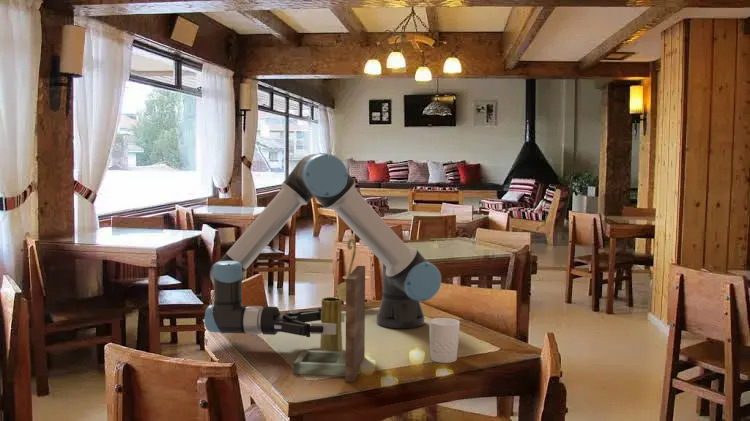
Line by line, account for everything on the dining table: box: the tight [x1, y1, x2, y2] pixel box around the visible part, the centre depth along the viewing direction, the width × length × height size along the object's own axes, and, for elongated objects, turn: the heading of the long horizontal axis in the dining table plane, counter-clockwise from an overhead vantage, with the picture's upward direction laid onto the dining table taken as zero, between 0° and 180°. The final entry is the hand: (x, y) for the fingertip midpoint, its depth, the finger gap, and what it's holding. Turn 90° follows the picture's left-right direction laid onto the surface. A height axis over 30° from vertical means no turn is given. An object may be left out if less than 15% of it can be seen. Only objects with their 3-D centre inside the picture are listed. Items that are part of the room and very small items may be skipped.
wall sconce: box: [336, 237, 370, 303], centre depth 227 cm, size 14×10×25 cm
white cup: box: [428, 317, 461, 364], centre depth 167 cm, size 8×8×10 cm
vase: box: [319, 296, 344, 352], centre depth 173 cm, size 6×6×14 cm
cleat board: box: [292, 265, 366, 383], centre depth 159 cm, size 15×20×24 cm
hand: (340, 322), depth 173 cm, fingers open, 13 cm apart
